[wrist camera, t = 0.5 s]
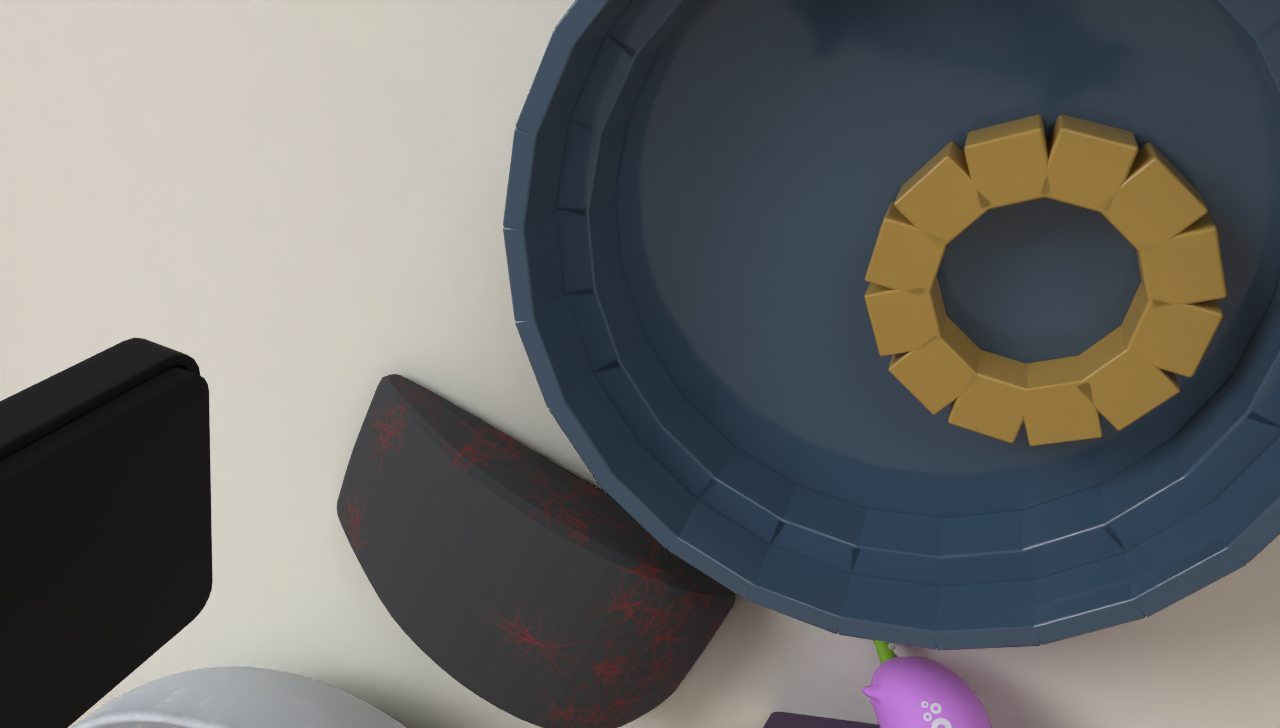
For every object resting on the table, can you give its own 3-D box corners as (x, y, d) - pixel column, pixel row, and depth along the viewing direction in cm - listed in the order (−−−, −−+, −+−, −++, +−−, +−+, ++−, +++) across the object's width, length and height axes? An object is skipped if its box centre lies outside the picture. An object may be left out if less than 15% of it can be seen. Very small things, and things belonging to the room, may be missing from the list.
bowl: (639, -260, 24) (563, -285, 20) (1556, -82, 20) (1680, -71, 16) (534, 425, 33) (468, 497, 29) (1148, 642, 29) (1165, 758, 25)
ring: (929, 79, 24) (922, 91, 23) (1275, 167, 23) (1291, 186, 21) (840, 361, 28) (830, 386, 27) (1133, 455, 27) (1138, 486, 25)
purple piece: (716, 844, 29) (1066, 908, 25) (714, 662, 28) (1069, 703, 25) (773, 742, 35) (1059, 784, 32) (772, 592, 34) (1061, 618, 31)
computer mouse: (658, 714, 37) (619, 800, 33) (339, 515, 38) (270, 579, 34) (761, 563, 32) (728, 644, 29) (398, 346, 34) (327, 399, 30)
